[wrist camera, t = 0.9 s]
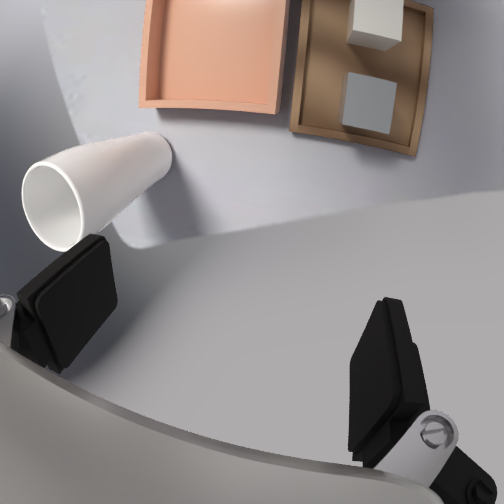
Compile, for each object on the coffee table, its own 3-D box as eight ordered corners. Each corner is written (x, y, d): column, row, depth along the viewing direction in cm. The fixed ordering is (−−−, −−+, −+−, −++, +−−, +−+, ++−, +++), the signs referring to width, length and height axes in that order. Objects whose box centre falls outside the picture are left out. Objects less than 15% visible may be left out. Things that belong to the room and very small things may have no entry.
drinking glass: (193, 150, 29) (98, 204, 16) (159, 198, 33) (69, 271, 20) (144, 111, 28) (32, 141, 15) (116, 160, 31) (14, 213, 19)
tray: (304, -16, 19) (303, -20, 18) (429, 10, 18) (433, 8, 17) (290, 129, 26) (288, 131, 25) (411, 153, 25) (415, 156, 24)
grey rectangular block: (342, 76, 23) (348, 71, 18) (381, 84, 22) (396, 82, 17) (337, 117, 25) (342, 124, 19) (375, 125, 24) (389, 134, 19)
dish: (164, -16, 21) (149, -23, 18) (292, -22, 19) (288, -33, 17) (154, 105, 28) (138, 108, 25) (279, 112, 26) (274, 114, 23)
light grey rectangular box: (349, 5, 19) (355, -16, 14) (387, 14, 19) (403, -5, 14) (346, 43, 21) (352, 29, 16) (384, 51, 21) (401, 41, 15)
